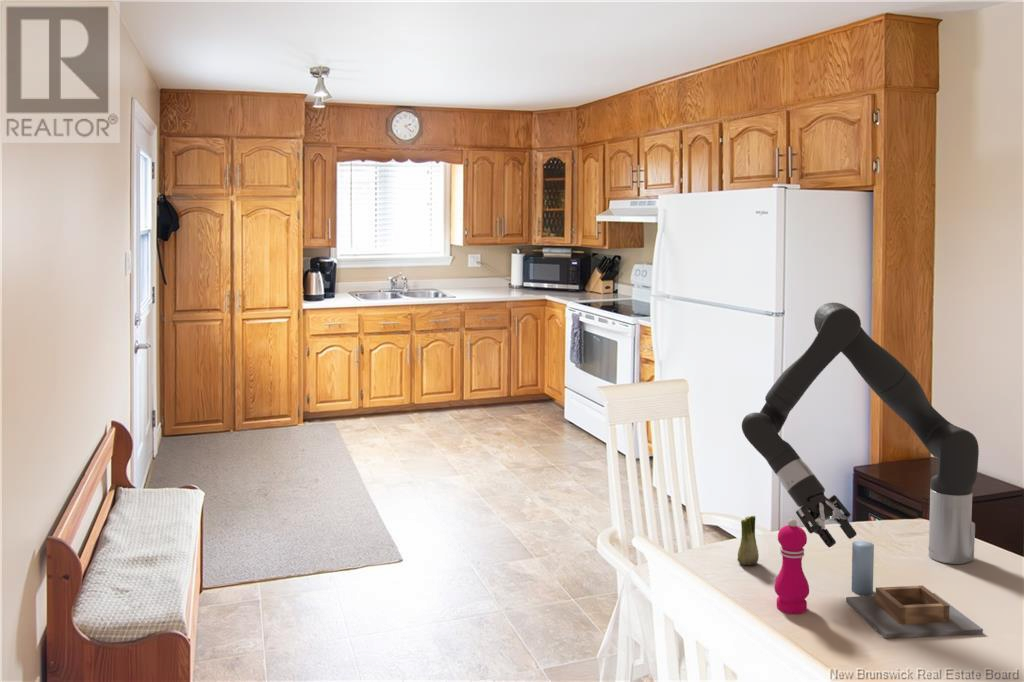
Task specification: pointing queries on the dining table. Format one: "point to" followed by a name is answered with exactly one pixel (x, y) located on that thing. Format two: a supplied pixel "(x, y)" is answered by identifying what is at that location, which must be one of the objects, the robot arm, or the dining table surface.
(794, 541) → the pepper mill
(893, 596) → the wooden frame tray
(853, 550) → the post
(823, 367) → the robot arm
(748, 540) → the fennel bulb
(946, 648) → the dining table surface
